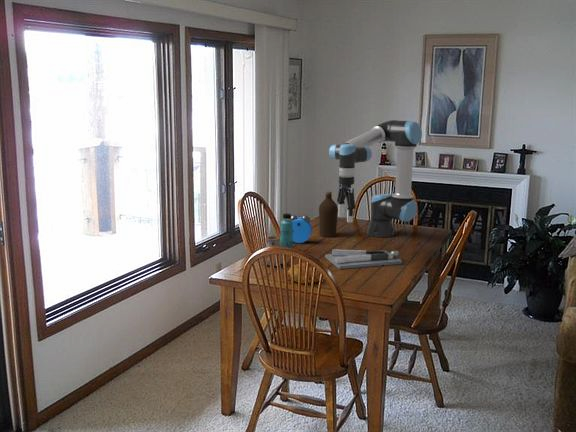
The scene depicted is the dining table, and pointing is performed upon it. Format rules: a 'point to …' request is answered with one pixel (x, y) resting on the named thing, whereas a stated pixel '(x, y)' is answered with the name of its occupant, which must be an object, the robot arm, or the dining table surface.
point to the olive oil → (328, 217)
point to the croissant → (302, 273)
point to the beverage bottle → (286, 231)
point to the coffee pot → (273, 242)
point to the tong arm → (354, 252)
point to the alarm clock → (301, 228)
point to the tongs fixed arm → (367, 257)
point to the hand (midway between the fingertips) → (345, 219)
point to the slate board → (362, 262)
